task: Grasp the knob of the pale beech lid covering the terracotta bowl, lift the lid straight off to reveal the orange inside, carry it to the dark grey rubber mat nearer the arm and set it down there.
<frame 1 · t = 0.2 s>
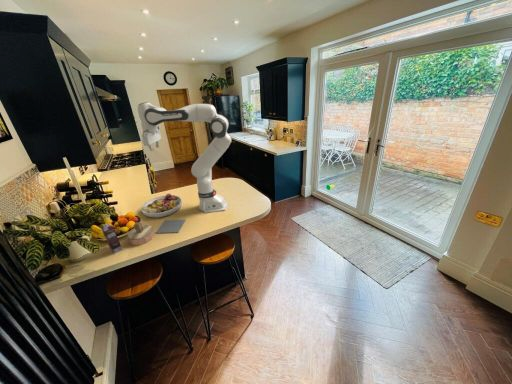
hand: (155, 149, 149), 48 cm above the countertop, fingers open, 8 cm apart
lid: (140, 232, 134), point 4 cm above the countertop, touching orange
mat: (171, 226, 147), on the countertop
bowl 2: (163, 209, 170), on the countertop
bowl: (142, 238, 136), on the countertop
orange: (141, 235, 135), point 2 cm above the countertop, touching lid
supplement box: (116, 249, 128), on the countertop
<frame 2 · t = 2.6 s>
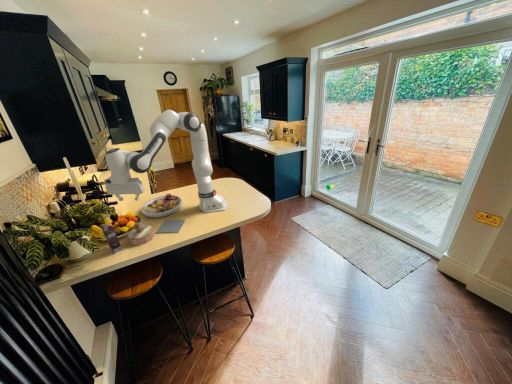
hand: (129, 200, 125), 27 cm above the countertop, fingers open, 8 cm apart
nothing on the countertop moved.
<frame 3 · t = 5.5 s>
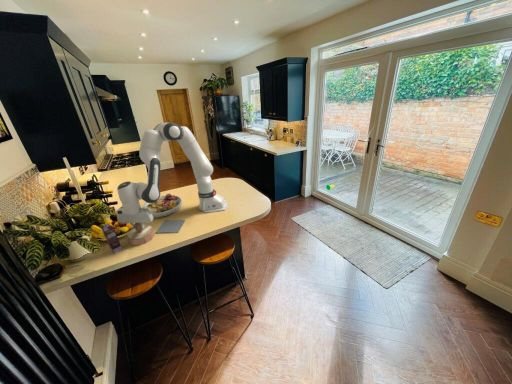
hand: (139, 227, 133), 8 cm above the countertop, fingers closed on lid, 3 cm apart
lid: (140, 232, 134), point 4 cm above the countertop, touching gripper, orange
everything else where it was.
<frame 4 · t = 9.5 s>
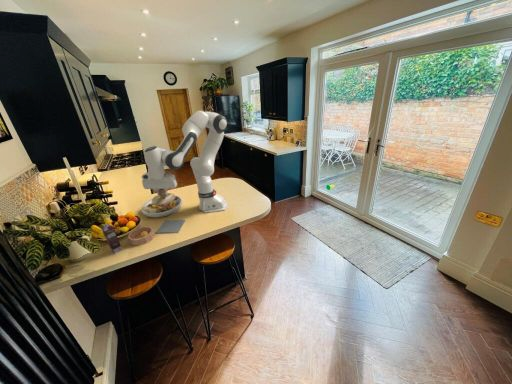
hand: (162, 194, 136), 25 cm above the countertop, fingers closed on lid, 3 cm apart
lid: (163, 199, 137), point 21 cm above the countertop, touching gripper
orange: (144, 234, 136), point 2 cm above the countertop, tilted 45°
everything else where it was.
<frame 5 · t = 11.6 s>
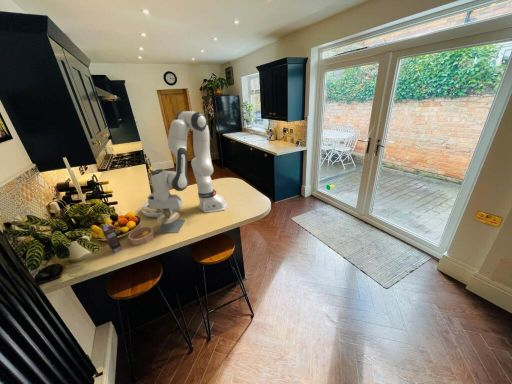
hand: (167, 213, 142), 10 cm above the countertop, fingers closed on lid, 3 cm apart
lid: (168, 217, 143), point 7 cm above the countertop, touching gripper
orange: (146, 234, 136), point 2 cm above the countertop, tilted 72°
everything else where it was.
when the fingers open (5 cm above the countertop, at t = 13.5 s): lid drops 1 cm, resting on mat.
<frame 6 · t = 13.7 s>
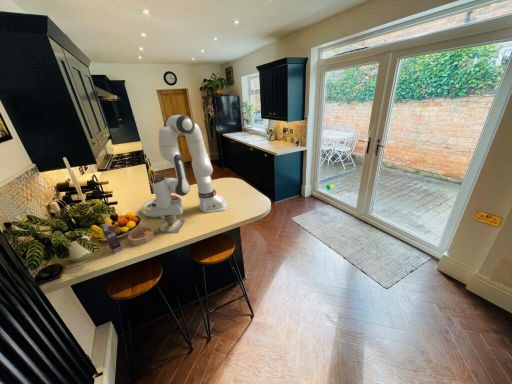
hand: (169, 219, 144), 5 cm above the countertop, fingers open, 5 cm apart
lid: (171, 225, 146), point 1 cm above the countertop, touching mat
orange: (147, 234, 136), point 2 cm above the countertop, tilted 98°
everything else where it was.
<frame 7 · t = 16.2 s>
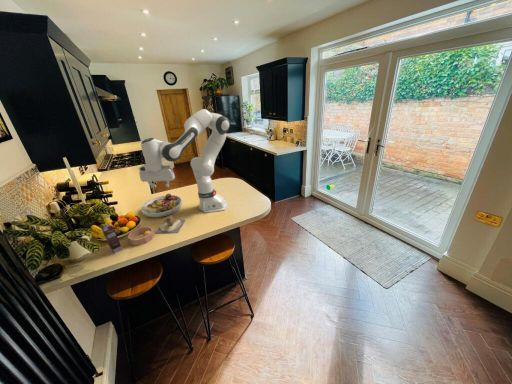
hand: (160, 187, 134), 29 cm above the countertop, fingers open, 8 cm apart
nothing on the countertop moved.
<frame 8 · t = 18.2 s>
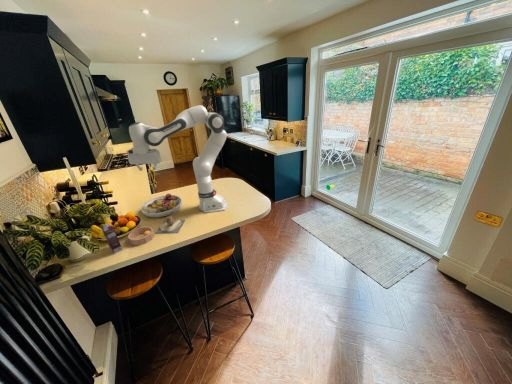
hand: (148, 170, 142), 37 cm above the countertop, fingers open, 8 cm apart
nothing on the countertop moved.
at the end: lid inside the target area on the mat (0.0 cm from its centre), point 0.6 cm above the mat's base; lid touching mat; the gripper is holding nothing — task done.
